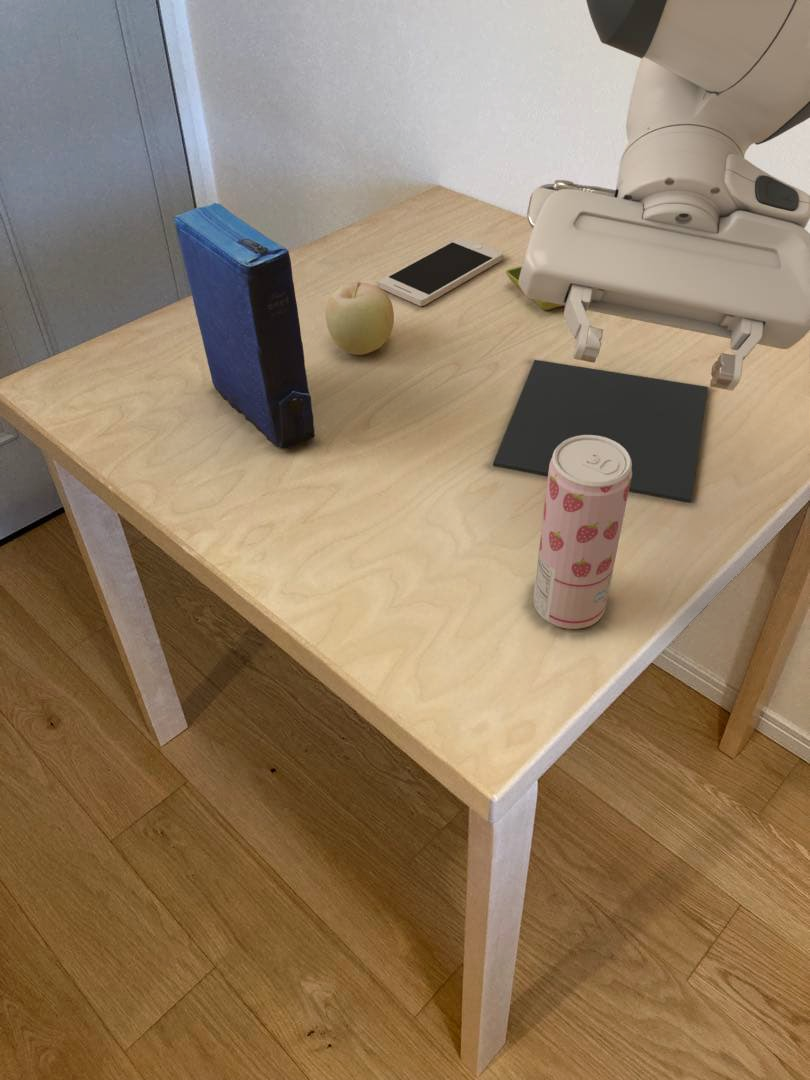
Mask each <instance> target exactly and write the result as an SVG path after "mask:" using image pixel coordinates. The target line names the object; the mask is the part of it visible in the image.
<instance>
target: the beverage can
mask: <svg viewBox="0 0 810 1080" xmlns="http://www.w3.org/2000/svg"><path fill="white" fill-rule="evenodd" d="M631 467H632V461H631V458H630V456H629V454H628V452H627V451H626V450H625V448H623V447H622V446H621V445H620V444H619V443H617V442H615V441H613V440H611V439H608V438H606V437H602V436H596V435H580V436H575V437H572V438H569V439H567V440H565V441H563V442H562V443H561V444H560V445H558V446H557V448H556V449H555V450H554V453H553V456H552V459H551V461H550V464H549V472H548V476H547V480H546V481H547V482H546V490H545V497H544V506H543V515H542V522H541V524H542V525H541V532H540V539H539V546H538V547H539V548H538V556H537V563H536V572H535V579H534V588H533V605H534V608H535V610H536V612H537V613H538V615H540V617H541V618H543V619H544V621H546V622H548V623H550V624H552V625H553V626H556V627H559V628H562V629H568V630H577V629H583V628H588V627H590V626H592V625H594V624H595V623H597V622H599V620H600V619H602V617H603V616H604V614H605V612H606V608H607V603H608V598H609V594H610V588H611V583H612V578H613V572H614V567H615V563H616V558H617V553H618V547H619V544H620V543H619V542H620V538H621V532H622V528H623V524H624V523H623V522H624V517H625V512H626V507H627V503H628V497H629V492H630V491H629V488H630V483H631V478H632V468H631Z"/></svg>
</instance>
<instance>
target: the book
mask: <svg viewBox="0 0 810 1080" xmlns="http://www.w3.org/2000/svg"><path fill="white" fill-rule="evenodd" d="M173 223H174V226H175V230H176V234H177V238H178V243H179V248H180V252H181V256H182V260H183V263H184V268H185V272H186V276H187V282H188V285H189V288H190V292H191V298H192V301H193V306H194V310H195V315H196V319H197V323H198V327H199V331H200V335H201V341H202V344H203V348H204V349H203V350H204V352H205V357H206V360H207V365H208V366H207V367H208V369H209V374H210V378H211V381H212V385H213V387H214V389H215V390H216V391H217V392H218V393H219V394H220V396H221V398H222V399H223V400H225V401H227V402H228V404H229V405H230V406H231V408H232V409H234V410H235V411H236V412H237V413H239V414H241V415H243V417H244V419H245V421H247V422H249V423H251V424H252V425H253V426H254V427H255V428H256V430H258V431H259V432H260V433H261V434H262V435H264V436H265V437H266V439H267V441H269V442H270V443H271V444H272V445H273V446H274V447H276V448H279V449H281V450H282V449H283V450H286V449H291V448H295V447H298V446H301V445H303V444H305V443H308V442H310V441H311V440H313V439H314V438H315V437H316V435H315V426H314V413H313V405H312V396H311V393H310V390H309V386H308V383H309V382H308V377H307V370H306V363H305V353H304V343H303V340H302V332H301V324H300V316H299V309H298V304H297V303H298V302H297V298H296V290H295V284H294V278H293V269H292V267H293V266H292V260H291V256H290V252H289V249H287V248H286V246H283V245H281V244H279V243H278V242H276V241H274V240H272V239H271V238H268V237H267V236H265V235H264V234H263V233H261V232H260V231H259V230H257V229H256V228H254V227H253V226H251V225H249V224H248V223H246V222H245V221H244V220H242V219H240V218H239V217H238V216H236V215H235V214H234V213H232V212H231V211H229V210H228V209H227V208H226V207H224V206H223V205H222V204H220V203H218V202H213V203H212V204H210V205H205V206H201V207H200V206H199V207H195V208H193V209H191V210H189V211H186V212H184V213H181V214H177V215H174V221H173Z"/></svg>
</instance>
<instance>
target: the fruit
mask: <svg viewBox="0 0 810 1080" xmlns="http://www.w3.org/2000/svg"><path fill="white" fill-rule="evenodd" d="M324 313H325V322H326V327H327V330H328V332H329V335H330V337H331V339H332V341H333V342H334V343H335V345H336V346H337V347H338V348H339V349H340V350H342V351H344V352H345V353H348V354H350V355H357V356H359V355H361V356H363V355H367V354H369V353H371V352H374V351H377V350H378V349H380V348H381V347H382V346H383V345H385V344H386V342H387V341H388V339H389V338H390V336H391V334H392V331H393V327H394V325H395V324H394V323H395V313H394V305H393V303H392V301H391V298H390V297H389V295H388V294H387V293H386V291H385V290H383V289H381V288H380V287H379V286H377V285H374V284H370V283H366V282H360V281H355V282H349V283H347V284H344V285H342V286H341V287H339V288H337V289H336V290H335V291H334V292H333V293H332V294H331V295H330V297H329V299H328V301H327V303H326V306H325V312H324Z"/></svg>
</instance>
